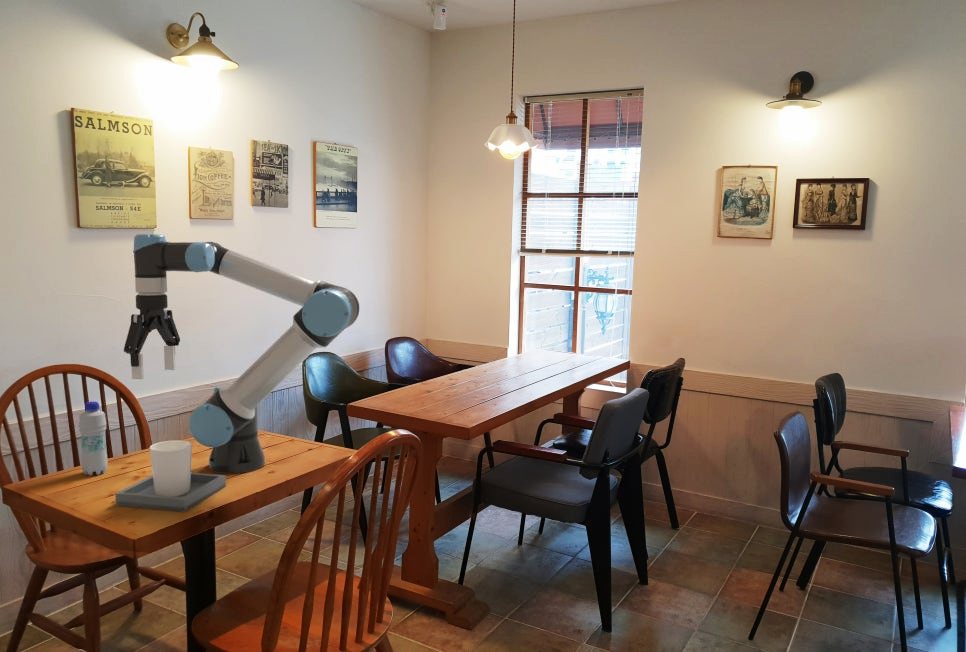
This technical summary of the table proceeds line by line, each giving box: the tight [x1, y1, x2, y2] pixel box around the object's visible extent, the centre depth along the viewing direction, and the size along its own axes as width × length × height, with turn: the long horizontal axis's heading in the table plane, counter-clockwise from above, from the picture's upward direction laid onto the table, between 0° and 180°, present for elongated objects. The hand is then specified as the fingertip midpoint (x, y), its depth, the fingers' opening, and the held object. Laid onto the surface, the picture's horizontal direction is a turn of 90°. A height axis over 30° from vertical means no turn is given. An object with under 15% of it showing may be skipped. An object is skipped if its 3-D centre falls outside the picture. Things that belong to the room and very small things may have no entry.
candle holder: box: [149, 439, 193, 497], centre depth 183 cm, size 10×10×12 cm
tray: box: [115, 472, 227, 513], centre depth 184 cm, size 18×18×3 cm
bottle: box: [78, 400, 108, 476], centre depth 199 cm, size 7×7×20 cm
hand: (154, 374), depth 192 cm, fingers open, 13 cm apart
